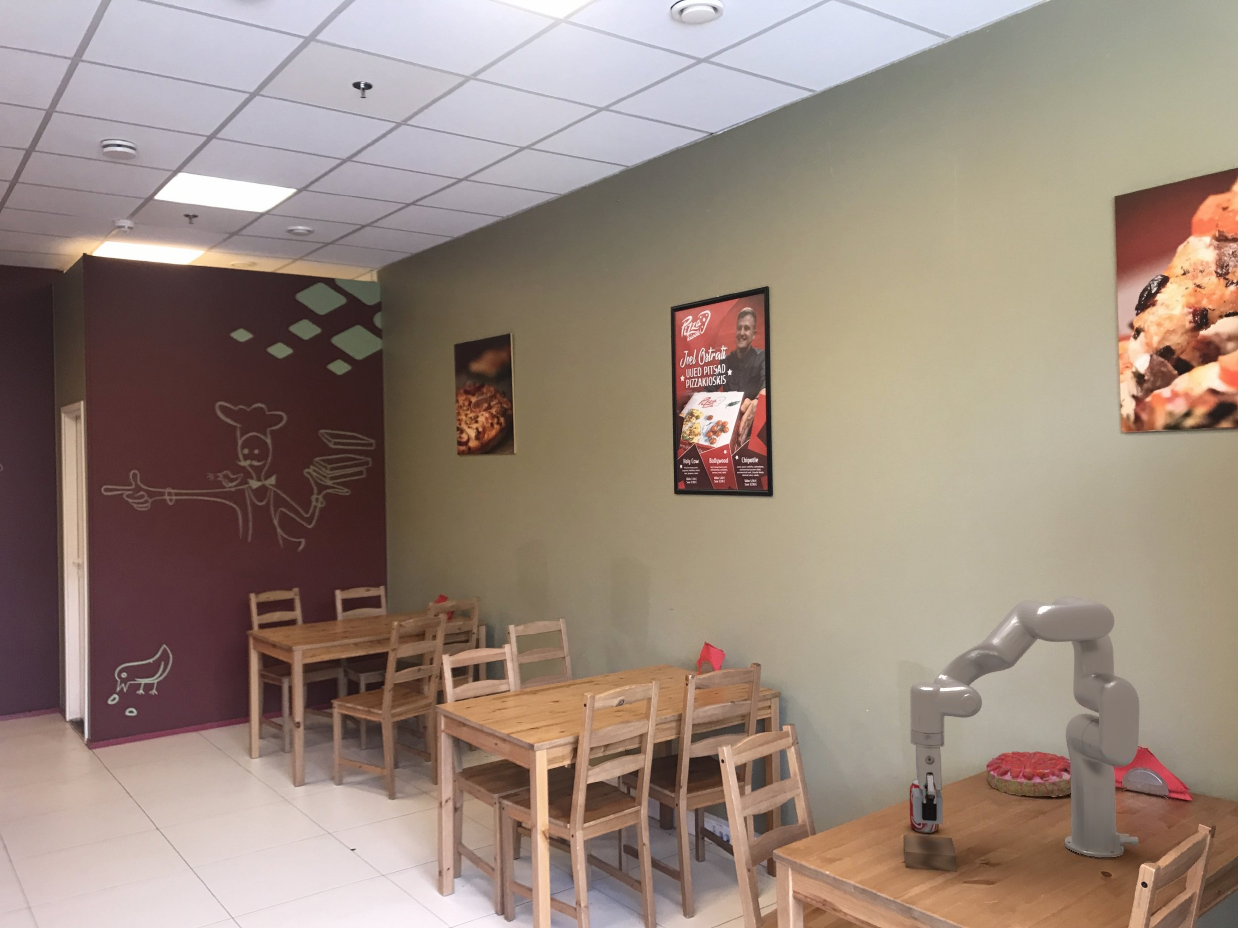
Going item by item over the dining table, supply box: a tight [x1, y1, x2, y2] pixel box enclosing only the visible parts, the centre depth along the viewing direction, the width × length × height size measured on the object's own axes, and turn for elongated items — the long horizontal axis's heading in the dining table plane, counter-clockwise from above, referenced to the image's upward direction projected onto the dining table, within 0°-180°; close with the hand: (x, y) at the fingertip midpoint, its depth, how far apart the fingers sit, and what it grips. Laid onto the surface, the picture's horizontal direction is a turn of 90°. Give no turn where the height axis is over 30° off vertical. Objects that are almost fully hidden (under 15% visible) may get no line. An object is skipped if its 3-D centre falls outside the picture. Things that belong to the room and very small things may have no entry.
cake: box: [986, 751, 1071, 797], centre depth 276 cm, size 25×25×8 cm
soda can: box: [909, 778, 940, 834], centre depth 242 cm, size 7×7×12 cm
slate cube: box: [913, 788, 944, 825], centre depth 223 cm, size 6×6×6 cm
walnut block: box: [902, 833, 958, 873], centre depth 223 cm, size 11×11×4 cm
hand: (927, 814), depth 223 cm, fingers closed on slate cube, 6 cm apart
